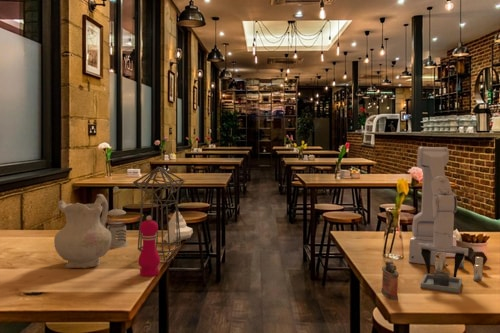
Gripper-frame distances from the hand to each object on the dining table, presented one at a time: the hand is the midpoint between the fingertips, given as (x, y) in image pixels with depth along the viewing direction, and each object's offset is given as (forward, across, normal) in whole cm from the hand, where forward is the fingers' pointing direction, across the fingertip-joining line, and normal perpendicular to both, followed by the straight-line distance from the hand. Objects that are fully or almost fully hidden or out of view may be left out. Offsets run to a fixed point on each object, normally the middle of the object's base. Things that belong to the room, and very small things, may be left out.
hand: (441, 274), depth 146 cm
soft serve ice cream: (+4, -109, +8) cm, 110 cm away
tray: (+3, 0, 0) cm, 3 cm away
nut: (+3, 0, 0) cm, 3 cm away
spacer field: (+3, +4, +17) cm, 18 cm away
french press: (+4, -127, -12) cm, 128 cm away
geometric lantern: (+4, -96, -20) cm, 99 cm away
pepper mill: (+4, -88, -36) cm, 95 cm away
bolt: (+4, +7, +38) cm, 39 cm away
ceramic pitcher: (+4, -117, -37) cm, 123 cm away
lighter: (+4, -13, -17) cm, 21 cm away
